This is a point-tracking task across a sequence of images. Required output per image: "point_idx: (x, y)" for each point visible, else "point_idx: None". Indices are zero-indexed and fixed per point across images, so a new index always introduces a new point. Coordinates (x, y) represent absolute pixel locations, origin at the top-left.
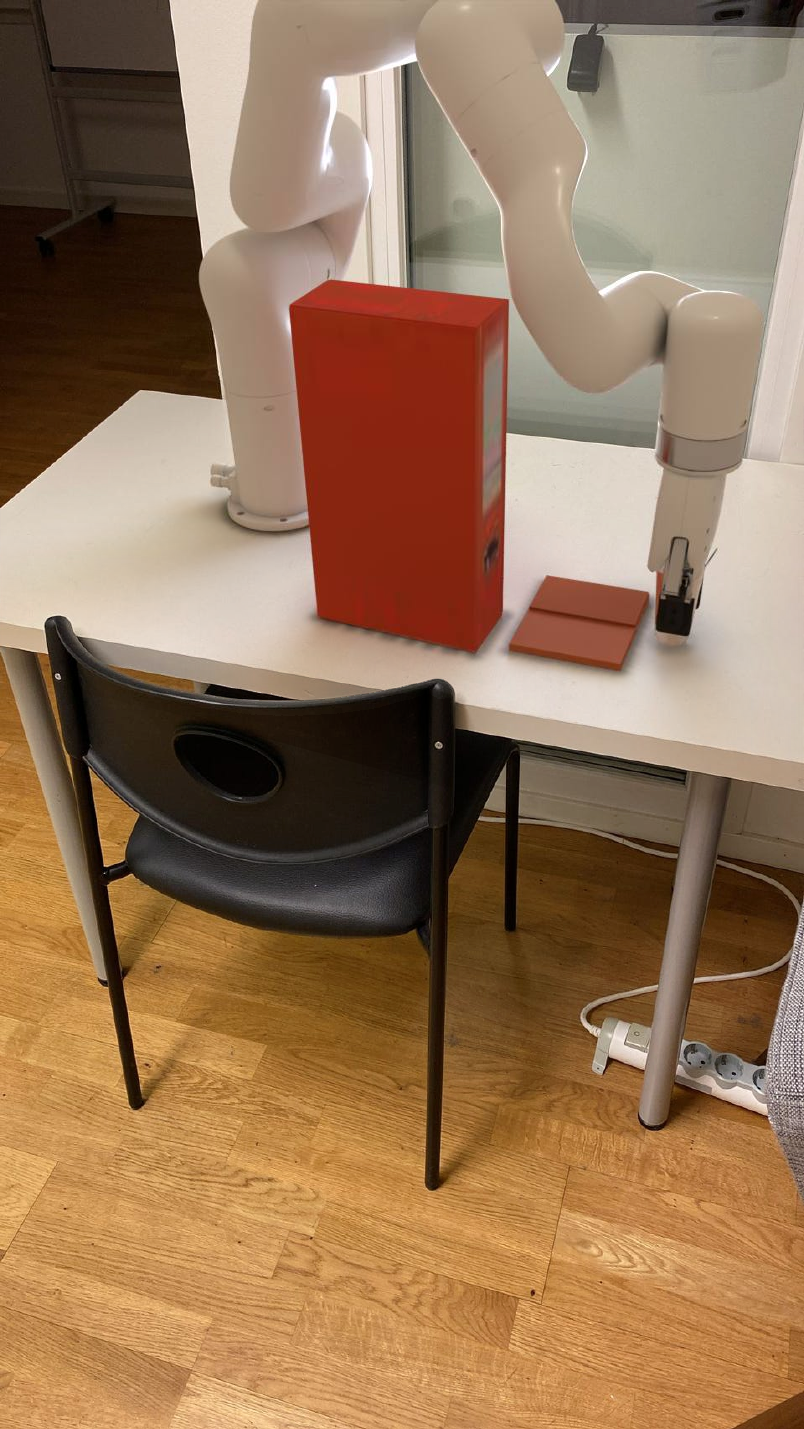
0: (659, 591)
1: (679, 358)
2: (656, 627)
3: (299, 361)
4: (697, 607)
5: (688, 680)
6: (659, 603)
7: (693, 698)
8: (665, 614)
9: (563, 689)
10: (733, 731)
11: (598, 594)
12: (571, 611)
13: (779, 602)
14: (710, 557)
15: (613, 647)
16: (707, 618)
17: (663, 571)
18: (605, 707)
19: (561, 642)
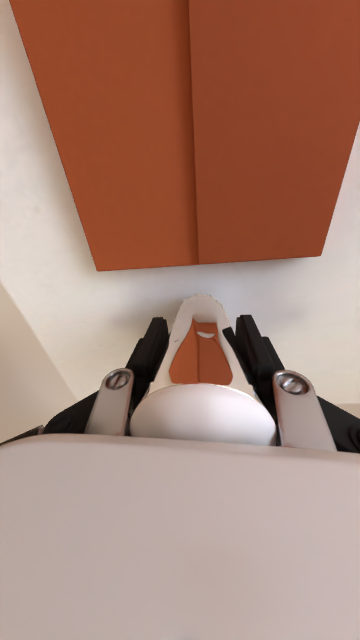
0: (162, 354)
1: None
2: (152, 319)
3: None
4: None
5: (132, 342)
6: (139, 350)
7: (107, 351)
8: (132, 354)
9: (12, 200)
10: (86, 382)
11: (300, 139)
12: (202, 93)
13: (318, 395)
14: None
15: (129, 247)
16: (269, 339)
17: (133, 416)
18: (28, 273)
19: (89, 132)
